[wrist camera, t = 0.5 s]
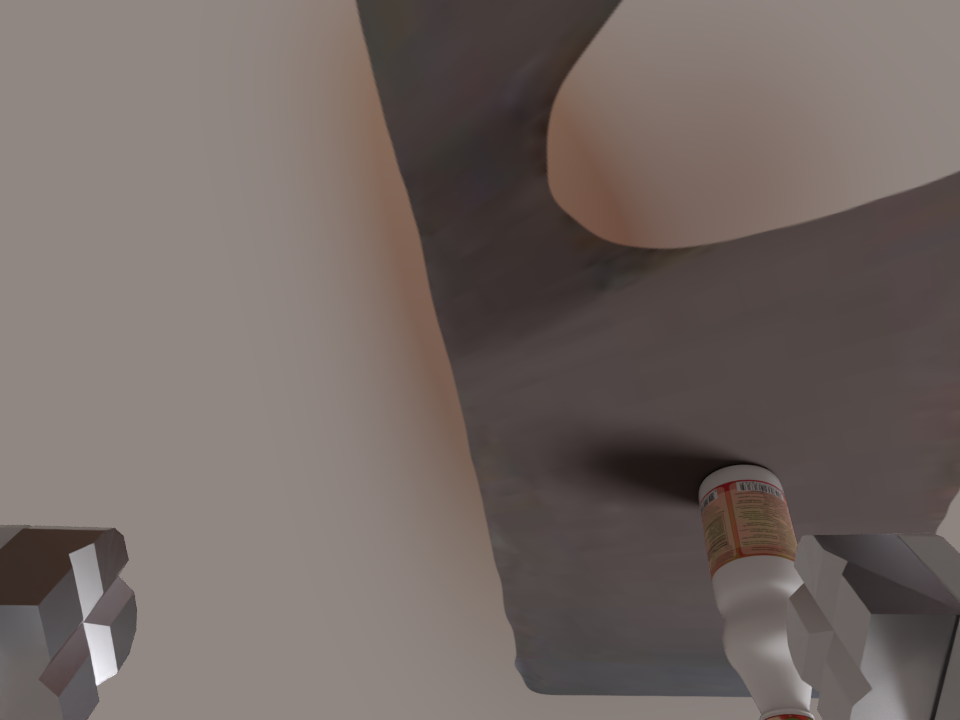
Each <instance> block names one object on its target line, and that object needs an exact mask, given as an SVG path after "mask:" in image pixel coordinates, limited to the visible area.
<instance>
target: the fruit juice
mask: <svg viewBox="0 0 960 720" xmlns="http://www.w3.org/2000/svg"><path fill="white" fill-rule="evenodd" d="M699 505H700V511H701V517H702V524H703V530H704V536H705V543H706V549H707V555H708V561H709V568H710V574H711V581H712V588H713V593H714V597H715V601H716V605H717V608H718V610H719V612H720V614H721V615H722V616H723V618H724V628H723V646H724V650H725V654H726V657H727V659H728V661H729V662H730V664H731V665H732V666H733V668H734V669H735V670H736V671H737V672H738V674H739V675H740V676H741V678H742V680H743V681H744V683H745V685H746V687H747V689H748V690H749V692H750V694H751V696H752V698H753V700H754V701H755V703H756V705H757V707H758V709H759V710H760V713H761V716H760V720H814V716H813V715H812V714H811V713H810V709H809V708H810V700H811V690H812V687H811V686H810V685H808V684H807V683H805V682H804V681H802V680H801V678H800V676H799V674H798V672H797V670H796V668H795V666H794V664H793V661H792V658H791V654H790V651H789V648H788V641H787V631H786V616H787V608H788V599H789V597H790V596H791V595H792V594H793V593H794V592H795V591H796V590H797V589H798V588H799V587H800V586H801V585H802V584H803V583H804V582H803V580H802V579H801V577H800V576H799V574H798V572H797V571H796V569H795V568H794V561H795V556H796V550H797V543H796V539H795V535H794V531H793V527H792V523H791V519H790V516H789V512H788V508H787V504H786V500H785V496H784V492H783V488H782V486H781V484H780V481H779V480H778V478H777V477H776V476H775V475H774V474H773V473H772V472H771V471H769V470H767V469H765V468H762V467H759V466H754V465H734V466H728V467H725V468H722V469H719V470H717V471H715V472H713V473H711V474H710V475H709V476H707V477H706V478H705V479H704V481H703V482H702V484H701V486H700V489H699Z"/></svg>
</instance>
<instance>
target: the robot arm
mask: <svg viewBox="0 0 960 720" xmlns="http://www.w3.org/2000/svg"><path fill="white" fill-rule="evenodd" d="M127 561H128V555H127V550H126V546H125V541H124V536H123V535H122V534H121V533H120V532H118V531H117V530H116V529H115V528H98V527H63V526H30V525H0V720H87V719H88V718H89V716H90V715H91V713H92V712H93V710H94V709H95V707H96V705H97V704H98V702H99V697H98V691H97V685H98V684H100V683H101V682H103V681H105V680H106V679H108V678H109V677H111V676H113V675H114V674H116V673H118V671H119V670H120V668H121V666H122V665H123V663H124V661H125V660H126V658H127V656H128V655H129V653H130V649H131V645H132V642H133V639H134V635H135V632H136V619H137V618H136V617H137V607H136V601H135V595H134V591H133V590H132V589H131V588H130V587H129V586H128V585H127V584H126V583H125V582H124V581H123V580H122V579H121V578H120V577H119V574H120V573H121V571H122V570H123V568H124V567H125V565H126V563H127ZM794 568H795V569H796V571H797V572H798V574H799V576H800V577H801V579H802V580H803V582H804V583H803V584H802V585H801V586H800V587H799V588H798V589H797V590H796V591H795V592H794V593H793V594H792V595H791V596H790V597H789V599H788V608H787V616H786V631H787V641H788V648H789V651H790V654H791V658H792V661H793V664H794V666H795V668H796V670H797V672H798V674H799V676H800V678H801V680H802V681H804V682H805V683H807V684H808V685H810V686H811V687H813V688H814V689H816V690H817V691H818V692H820V696H819V702H818V708H817V710H818V712H819V714H820V715H821V717H822V719H823V720H960V553H959V552H958V551H957V550H956V549H955V548H954V547H953V546H951V545H950V544H949V543H948V542H947V541H946V540H945V539H944V538H943V537H941V536H939V535H936V534H933V533H903V534H855V535H807V536H802V538H801V540H800V542H799V544H798V546H797V550H796V556H795V561H794Z"/></svg>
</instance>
